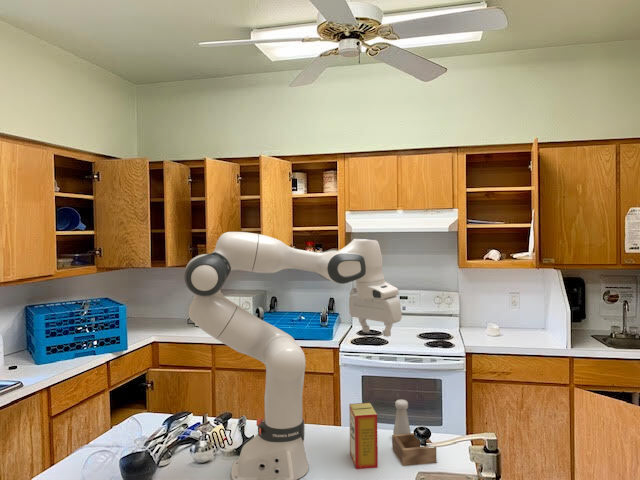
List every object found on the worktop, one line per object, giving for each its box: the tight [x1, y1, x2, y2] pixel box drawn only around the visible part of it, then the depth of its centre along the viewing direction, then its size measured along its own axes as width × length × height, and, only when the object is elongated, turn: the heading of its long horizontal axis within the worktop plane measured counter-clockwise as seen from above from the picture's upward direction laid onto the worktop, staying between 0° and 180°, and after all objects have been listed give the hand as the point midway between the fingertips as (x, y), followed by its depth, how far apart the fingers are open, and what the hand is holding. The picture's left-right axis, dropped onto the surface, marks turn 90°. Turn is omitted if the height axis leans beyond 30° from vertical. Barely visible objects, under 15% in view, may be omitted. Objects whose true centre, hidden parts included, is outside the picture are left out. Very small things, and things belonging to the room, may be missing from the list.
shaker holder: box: [391, 432, 437, 467], centre depth 137 cm, size 10×10×5 cm
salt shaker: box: [392, 399, 412, 435], centre depth 148 cm, size 6×6×13 cm
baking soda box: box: [349, 402, 379, 470], centre depth 135 cm, size 10×6×16 cm
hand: (376, 333), depth 136 cm, fingers open, 8 cm apart
